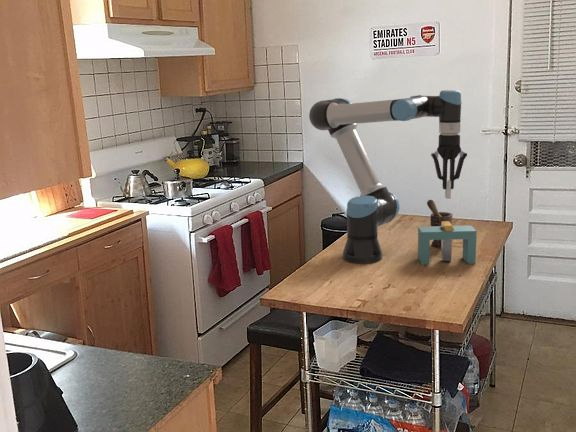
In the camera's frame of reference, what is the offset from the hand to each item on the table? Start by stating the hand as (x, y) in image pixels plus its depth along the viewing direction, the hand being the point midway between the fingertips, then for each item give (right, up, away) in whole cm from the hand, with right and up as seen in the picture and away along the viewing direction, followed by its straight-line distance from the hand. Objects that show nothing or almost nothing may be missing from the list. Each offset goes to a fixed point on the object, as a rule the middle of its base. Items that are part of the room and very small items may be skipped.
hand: (447, 197), depth 245 cm
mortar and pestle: (+2, -19, +24) cm, 31 cm away
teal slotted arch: (+1, -24, +6) cm, 24 cm away
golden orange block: (+1, -23, +6) cm, 24 cm away
